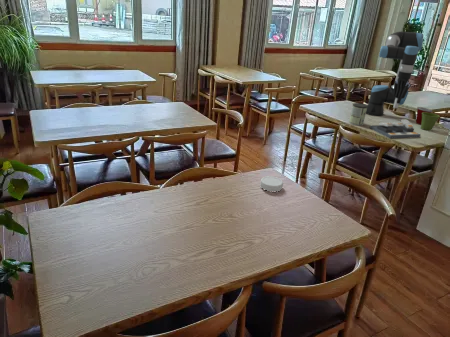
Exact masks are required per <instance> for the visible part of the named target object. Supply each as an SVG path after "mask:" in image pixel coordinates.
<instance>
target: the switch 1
mask: <svg viewBox="0 0 450 337" xmlns="http://www.w3.org/2000/svg"><path fill="white" fill-rule="evenodd" d="M391 123H392V122H379V123H378V125H382V126H393V124H391Z"/></svg>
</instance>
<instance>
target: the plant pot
mask: <svg viewBox="0 0 450 337" xmlns="http://www.w3.org/2000/svg"><path fill="white" fill-rule="evenodd" d="M440 117H441V116H440V115H439V114H436V113H433V112H431V113H426V112H423V113H422V123H421V124H420V129H421V130H424V131H428V132H429V131H432V130H433V128H434V126H435V124H436V123H437V121H438V120H439V118H440Z"/></svg>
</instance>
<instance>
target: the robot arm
mask: <svg viewBox="0 0 450 337" xmlns="http://www.w3.org/2000/svg"><path fill="white" fill-rule="evenodd" d="M423 42H424V34H423V33H420V32H414V31H402V30H401V31H396V32H393V33H391V34H389V35H388V36H387V37H386V39H385V42H384V43H385V45H381V47H380V50H379V55H378V56H379V58H382V59H392V60H400V62H399V67H398V69H397V73H396V77H395V80H394V81H393V85H391V86H390V87H389V85H385V84H379V85H378V84H377V85H373V87H372V88H371V91H370V95H369V99H368V103H367V104H366V105H367V106H368V107H367V110H366V115H369V116H374V117H384V114H385V110H384V105H385V103H386V104H391V105H392V104H393V107H392V108H393V109H398V108H399V106H402V105H404V103H405V102H406V100H407V98H408V95H409V93H410V92H409V89H410V87H412V84H410V79H411V77H412V74H413V70H414V66H415V64H416V60H417V57H418V54H419V52H420V51H422V50H423V49H422V48H423Z"/></svg>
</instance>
